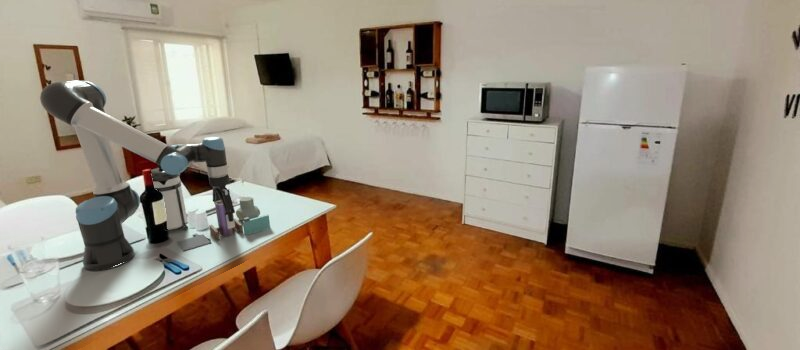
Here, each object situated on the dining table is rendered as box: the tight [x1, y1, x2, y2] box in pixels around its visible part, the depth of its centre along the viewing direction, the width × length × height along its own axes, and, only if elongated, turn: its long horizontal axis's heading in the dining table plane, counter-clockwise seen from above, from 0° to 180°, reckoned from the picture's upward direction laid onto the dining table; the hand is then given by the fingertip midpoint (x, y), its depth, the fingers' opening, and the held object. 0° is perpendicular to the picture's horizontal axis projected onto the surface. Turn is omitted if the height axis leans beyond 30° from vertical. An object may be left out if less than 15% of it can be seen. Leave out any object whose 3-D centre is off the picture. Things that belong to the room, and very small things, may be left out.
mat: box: [176, 234, 212, 252], centre depth 152 cm, size 10×10×1 cm
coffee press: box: [150, 164, 189, 231], centre depth 161 cm, size 17×16×30 cm
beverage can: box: [214, 200, 236, 238], centre depth 157 cm, size 6×6×15 cm
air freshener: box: [235, 196, 261, 222], centre depth 173 cm, size 11×8×10 cm
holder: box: [208, 217, 244, 242], centre depth 159 cm, size 11×9×4 cm
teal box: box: [242, 214, 271, 236], centre depth 161 cm, size 11×2×7 cm, turn 132°
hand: (226, 222), depth 158 cm, fingers open, 12 cm apart
